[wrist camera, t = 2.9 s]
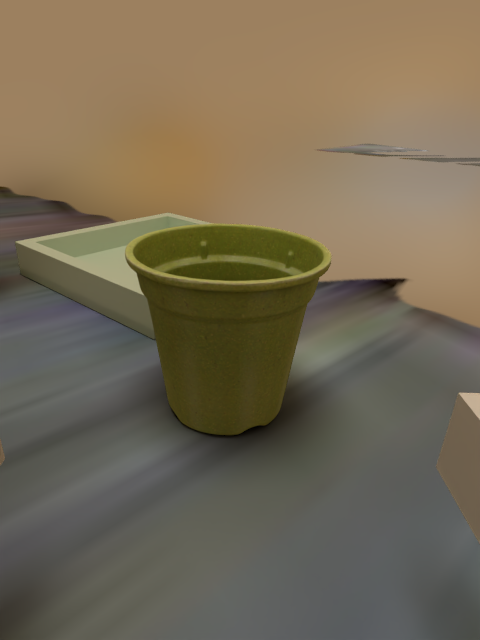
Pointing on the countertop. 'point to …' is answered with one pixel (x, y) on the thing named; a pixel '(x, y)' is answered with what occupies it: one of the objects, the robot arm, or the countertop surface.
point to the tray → (97, 267)
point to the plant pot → (226, 316)
